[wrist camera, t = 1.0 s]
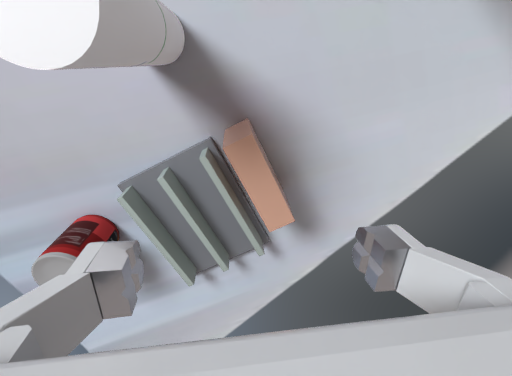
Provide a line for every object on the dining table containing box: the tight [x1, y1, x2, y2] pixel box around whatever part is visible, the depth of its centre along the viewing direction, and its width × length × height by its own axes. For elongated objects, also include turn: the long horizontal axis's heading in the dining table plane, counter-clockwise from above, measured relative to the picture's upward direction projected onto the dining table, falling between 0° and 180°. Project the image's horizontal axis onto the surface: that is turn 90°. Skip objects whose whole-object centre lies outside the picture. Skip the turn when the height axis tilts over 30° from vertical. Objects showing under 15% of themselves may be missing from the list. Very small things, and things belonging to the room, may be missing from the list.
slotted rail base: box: [117, 137, 269, 286], centre depth 45 cm, size 17×22×5 cm
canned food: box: [32, 215, 119, 286], centre depth 42 cm, size 8×8×11 cm
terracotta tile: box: [223, 118, 295, 232], centre depth 39 cm, size 4×14×10 cm, turn 26°
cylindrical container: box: [0, 0, 185, 70], centre depth 24 cm, size 7×7×25 cm
